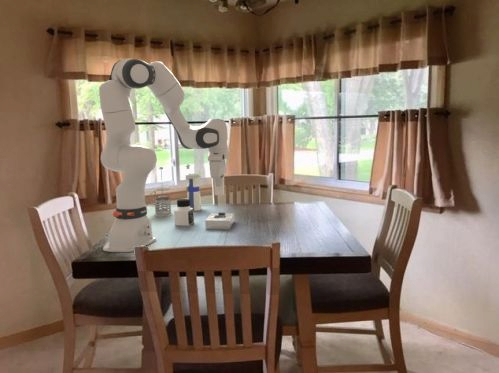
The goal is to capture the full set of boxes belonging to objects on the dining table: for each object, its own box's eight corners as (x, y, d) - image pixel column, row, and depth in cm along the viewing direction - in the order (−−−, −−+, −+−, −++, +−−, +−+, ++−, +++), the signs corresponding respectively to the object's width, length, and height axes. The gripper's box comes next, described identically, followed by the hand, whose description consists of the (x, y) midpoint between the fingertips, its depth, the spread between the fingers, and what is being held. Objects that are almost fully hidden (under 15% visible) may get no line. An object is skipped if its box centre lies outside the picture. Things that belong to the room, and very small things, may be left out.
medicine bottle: (189, 226, 191) (188, 200, 189) (174, 225, 192) (173, 200, 190) (194, 222, 197) (193, 197, 196) (180, 221, 199) (178, 197, 197)
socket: (229, 229, 184) (229, 218, 183) (205, 229, 185) (205, 218, 184) (234, 221, 197) (233, 211, 197) (211, 221, 198) (211, 211, 198)
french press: (170, 216, 210) (168, 167, 206) (148, 216, 210) (145, 168, 206) (174, 212, 220) (172, 165, 216) (153, 212, 220) (150, 166, 216)
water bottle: (183, 210, 224) (181, 164, 220) (190, 207, 232) (188, 163, 228) (197, 211, 221) (195, 164, 217) (203, 208, 229) (202, 163, 225)
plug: (223, 195, 187) (222, 175, 185) (214, 195, 187) (213, 175, 185) (224, 193, 190) (224, 174, 189) (216, 193, 191) (215, 174, 189)
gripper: (215, 153, 196) (216, 181, 199) (206, 157, 176) (207, 189, 178) (228, 153, 196) (229, 181, 198) (221, 157, 176) (222, 189, 178)
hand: (219, 185), depth 188 cm, fingers closed on plug, 4 cm apart
